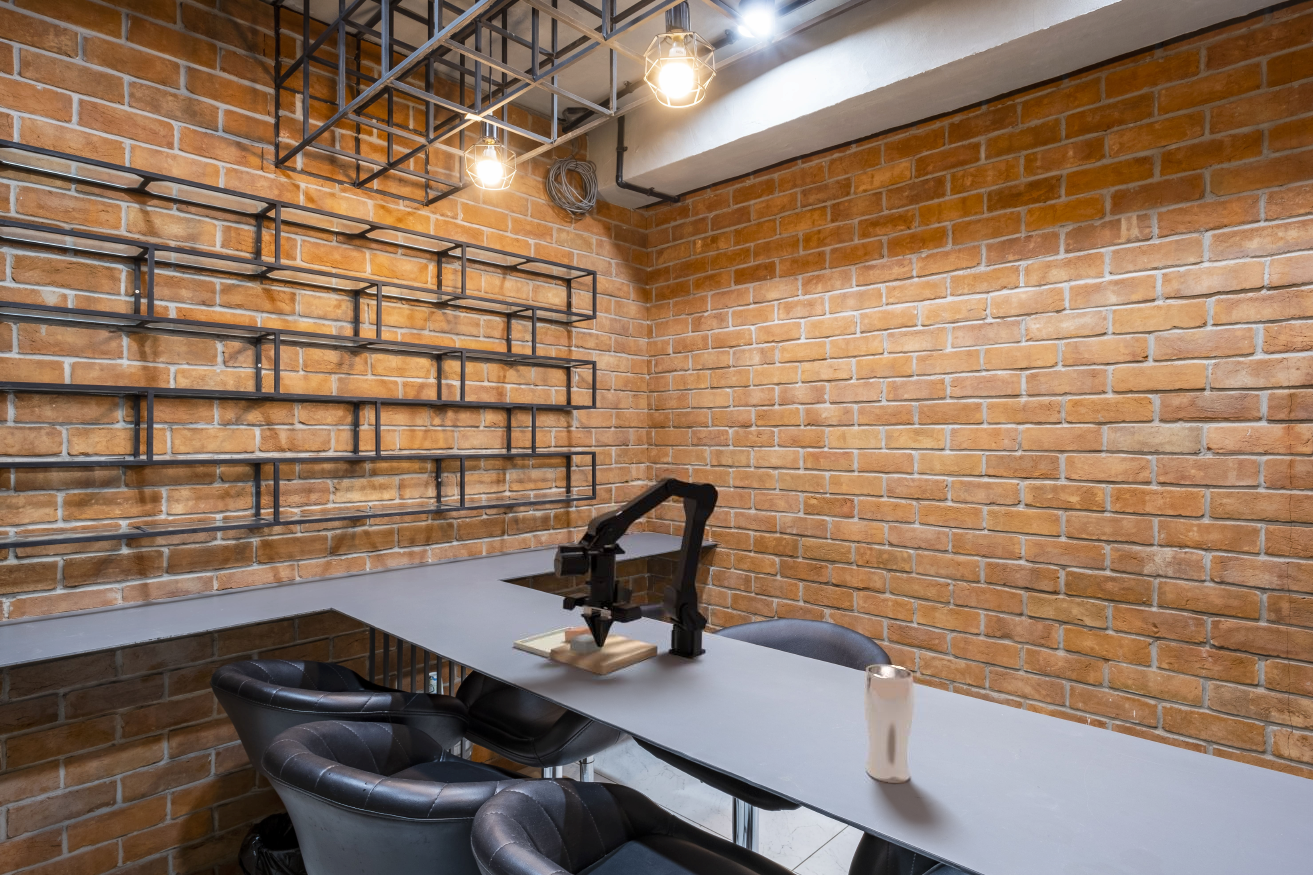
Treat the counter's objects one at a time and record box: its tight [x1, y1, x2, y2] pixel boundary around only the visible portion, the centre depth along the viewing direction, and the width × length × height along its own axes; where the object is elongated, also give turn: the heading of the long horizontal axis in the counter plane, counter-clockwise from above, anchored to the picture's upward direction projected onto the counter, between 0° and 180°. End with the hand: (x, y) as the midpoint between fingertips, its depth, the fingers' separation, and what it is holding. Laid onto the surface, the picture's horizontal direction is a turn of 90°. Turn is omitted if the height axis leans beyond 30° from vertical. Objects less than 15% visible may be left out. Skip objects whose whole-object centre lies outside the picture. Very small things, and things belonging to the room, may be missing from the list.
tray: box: [513, 626, 574, 659], centre depth 159 cm, size 12×18×1 cm, turn 142°
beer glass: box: [863, 663, 915, 784], centre depth 99 cm, size 7×7×15 cm
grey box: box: [570, 634, 602, 655], centre depth 148 cm, size 5×5×2 cm
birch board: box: [550, 632, 658, 676], centre depth 150 cm, size 16×18×2 cm
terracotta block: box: [564, 626, 593, 642], centre depth 160 cm, size 5×5×2 cm
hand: (600, 646), depth 145 cm, fingers closed
